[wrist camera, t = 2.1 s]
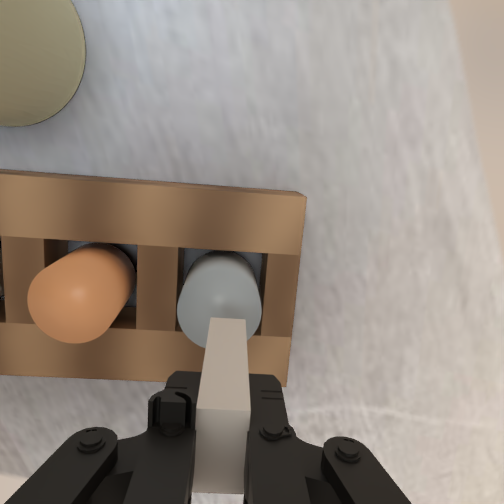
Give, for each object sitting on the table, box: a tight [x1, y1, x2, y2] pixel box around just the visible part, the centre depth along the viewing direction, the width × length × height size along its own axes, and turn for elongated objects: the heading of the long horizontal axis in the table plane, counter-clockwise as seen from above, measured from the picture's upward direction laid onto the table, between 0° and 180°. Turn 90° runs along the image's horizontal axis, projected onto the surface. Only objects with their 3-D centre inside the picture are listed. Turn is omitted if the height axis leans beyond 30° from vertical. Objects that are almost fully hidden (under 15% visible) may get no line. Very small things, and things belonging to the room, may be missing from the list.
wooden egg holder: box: [0, 169, 307, 387], centre depth 26 cm, size 24×12×4 cm, turn 85°
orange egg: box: [27, 243, 136, 343], centre depth 23 cm, size 4×4×5 cm
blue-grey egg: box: [177, 251, 262, 348], centre depth 24 cm, size 4×4×5 cm
